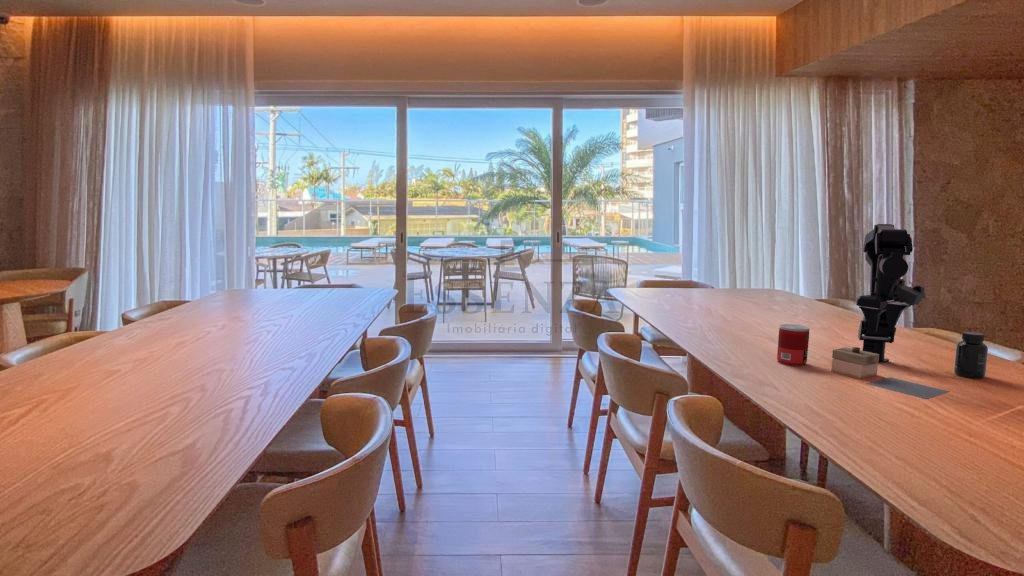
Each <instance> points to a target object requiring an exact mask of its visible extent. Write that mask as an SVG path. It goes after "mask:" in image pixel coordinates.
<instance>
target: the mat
mask: <svg viewBox="0 0 1024 576" xmlns="http://www.w3.org/2000/svg"><path fill="white" fill-rule="evenodd" d="M865 384H866V385H869V386H874V387H877V388H881V389H886V390H889V391H893V392H897V393H900V394H904V395H908V396H912V397H916V398H918V399H919V398H920V399H925V400H928V399H932V398H934V397H937V396H940V395H944V394H947V393H950V392H951V391H950V390H949V391H948V390H945V389H942V388H941V389H940V388H936V387H933V386H928V385H924V384H920V383H917V382H912V381H908V380H903V379H900V378H894V377H892V376H890V377H887V378H885V377H884V378H883V379H877V380H875V381H869V382H867V383H865Z"/></svg>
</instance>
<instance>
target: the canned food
mask: <svg viewBox="0 0 1024 576" xmlns="http://www.w3.org/2000/svg"><path fill="white" fill-rule="evenodd" d="M777 340H778V341H777V353H776V359H777V362H778V363H779V364H782V365H784V364H785V366H789V367H790V366H791V367H803V366H806V365H807V362H808V353H809V340H810V327H808V326H805V325H800V324H794V323H793V324H792V323H785V324H784V323H783V324H780V325H779V328H778V339H777Z"/></svg>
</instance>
